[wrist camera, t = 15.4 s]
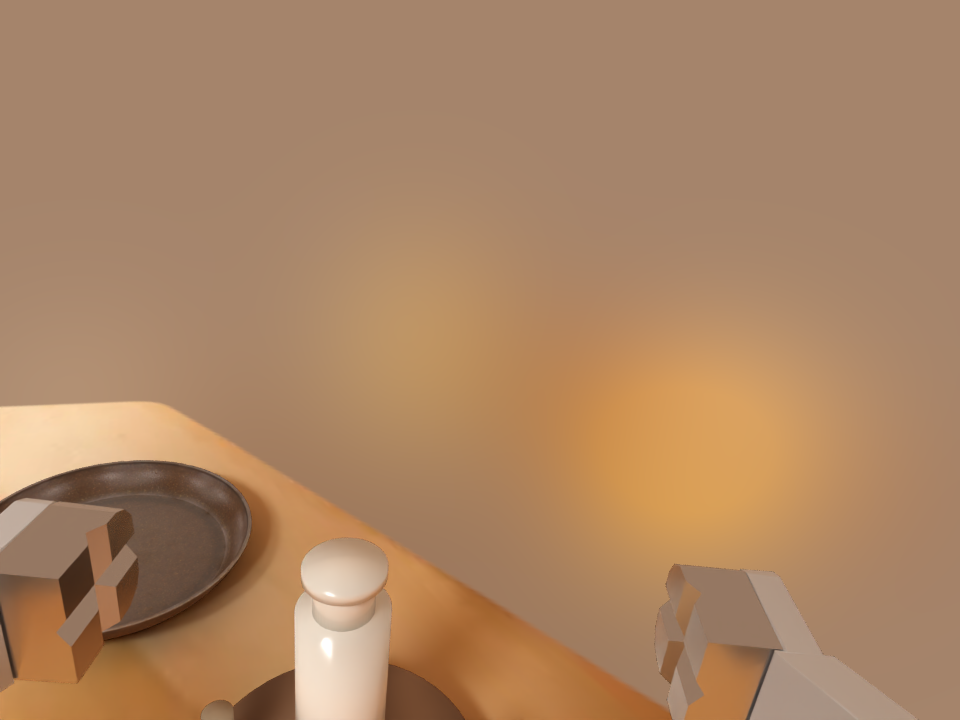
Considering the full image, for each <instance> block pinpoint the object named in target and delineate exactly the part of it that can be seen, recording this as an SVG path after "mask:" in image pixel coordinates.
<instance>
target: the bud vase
mask: <svg viewBox="0 0 960 720" xmlns="http://www.w3.org/2000/svg"><path fill="white" fill-rule="evenodd" d="M387 579H388V559H387V557H386V555H385V553H384V552H383V551H382V550H381V549H380V548H379V547H378V546H376V545H375V544H373V543H371V542H369V541H366V540H362V539H357V538H337V539H332V540H328V541H325V542H323V543H321V544H319V545H317V546H315V547H314V548H312V549H311V550H310V551H309V552H308V553H307V554H306V556H305V557H304V559H303V561H302V564H301V583H302V587H303V588H304V590H305V591H304V592H303V593H302V594H301V596H300V597H299V599H298V601H297V603H296V606H295V612H294V614H295V720H385V708H386V693H387V678H388V663H389V648H390V632H391V617H392V603H391V599H390V597H389V595H388V593H387V592H386V590H385V589H384V587H385V585H386V582H387Z"/></svg>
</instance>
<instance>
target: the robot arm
mask: <svg viewBox="0 0 960 720" xmlns="http://www.w3.org/2000/svg"><path fill="white" fill-rule="evenodd" d="M133 534H134V527H133V521H132V515H131V514H130V513H129V512H127V511H126V510H125V509H118V508H110V507H102V506H93V505H85V504H77V503H69V502H61V501H59V502H55V501H49V500H40V499H31V498H24V499H20V500H17V501H14V502H13V503H12V504H11V505H10V506H9V507H8V508H6V509H5V510H4V511H3V512H2V513H1V514H0V692H1V691H3V690H4V689H6V688H7V687H9V686H10V685H12V684H13V683H14V679H15V680H30V681H46V682H61V683H76V684H78V682H79V681H80V679H81V678H82V677H83V675H84V674H85V672H86V671H87V669H88V668H89V666H90V665H91V664H92V662H93V661H94V659H95V658H96V656H97V655H98V653H99V652H100V650H101V649H102V648H103V646H104V643H103V636H102V632H103V631H105V630H106V629H108V628H110V627H112V626H113V625H115V624H117V623H118V622H120V621H121V620H122V618H123V617H124V615H125V614H126V612H127V610H128V609H129V607H130V606H131V603H132V600H133V597H134V594H135V592H136V589H137V585H138V575H139V566H138V557H137V556H136V555H135V554H134V553H133V551H132V550H131V549H130V548H129V547H128V546H127V545H126V543H127V542H128V541H129V539H130V538H131V537H132V535H133ZM666 588H667V591H668V594H669V598H670V600H669V601H668V602H666V603H665V604H664V605H663V606H662V607H660V608H659V613H658V617H657V621H656V626H655V652H656V660H657V664H658V668H659V672H660V674H661V675H662V676H663V677H664V678H665V679H666V680H667V681H668V682H669V683H670V684H671V686H670V689H669V693H668V697H667V702H668V706H669V710H670V714H671V717H672V720H918V719H917V718H916V717H914V716H913V715H912V714H910V713H909V712H908V711H906V710H905V709H904V708H902V707H901V706H900V705H898V704H897V703H896V702H894V701H893V700H892V699H890V698H889V697H888V696H886V695H885V694H884V693H882V692H881V691H880V690H878V689H877V688H876V687H874V686H873V685H872V684H870V683H869V682H868V681H866V680H865V679H864V678H862V677H861V676H860V675H858V674H857V673H856V672H854V671H853V670H852V669H850V668H849V667H848V666H846V665H845V664H844V663H842V662H841V661H840V660H839V659H837V658H836V657H835V656H826V655H823V653H822V651H821V649H820V648H819V646H818V644H817V642H816V640H815V639H814V637H813V635H812V633H811V631H810V630H809V628H808V626H807V624H806V622H805V621H804V619H803V617H802V615H801V613H800V612H799V610H798V608H797V606H796V604H795V603H794V601H793V599H792V597H791V596H790V594H789V592H788V590H787V588H786V587H785V585H784V583H783V581H782V579H781V578H780V576H778V575H777V574H776V573H775V572H772V571H758V570H744V569H740V570H732V569H721V568H711V567H700V566H690V565H679V564H674V565H673V566H672V568H671V570H670V571H669V575H668V578H667V582H666Z"/></svg>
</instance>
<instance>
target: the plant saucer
mask: <svg viewBox="0 0 960 720" xmlns="http://www.w3.org/2000/svg"><path fill="white" fill-rule="evenodd" d="M24 498H31V499H40V500H49V501H55V502H59V501H61V502H69V503H77V504H85V505H93V506H102V507H110V508H118V509H125V510H126V511H127V512H129V513H130V514H131V515H132V521H133V527H134V534H133V535H132V537H131V538H130V539H129V541H128V542H127V543H126V545H127V546H128V547H129V548H130V549H131V550H132V551H133V553H134V554H135V555H136V556H137V557H138V566H139V575H138V585H137V589H136V592H135V594H134V597H133V600H132V603H131V606H130V607H129V609H128V610H127V612H126V614H125V615H124V617H123V618H122V620H121V621H120V622H118V623H117V624H115V625H113V626H112V627H110V628H108V629H106V630H105V631H103V632H102V636H103V640H106V639H111V638H115V637H120V636H124V635H127V634H131V633H134V632H137V631H140V630H143V629H146V628H149V627H151V626H154V625H156V624H159V623H161V622H163V621H165V620H167V619H169V618H171V617H173V616H175V615H176V614H178V613H180V612H182V611H184V610H185V609H187V608H188V607H190V606H191V605H193V604H194V603H196V602H197V601H198V600H200V599H201V598H202V597H204V596H205V595H206V594H207V593H209V592H210V591H211V590H212V589H213V588H214V587H215V586H216V585H217V584H218V583H219V582H220V581H221V580H222V579H223V578H224V577H225V576H226V575H227V574H228V573H229V571H230V570H231V569H232V568H233V566H234V565H235V564H236V562H237V561H238V559H239V558H240V556H241V554H242V553H243V551H244V549H245V547H246V545H247V543H248V540H249V537H250V533H251V527H252V518H251V512H250V508H249V506H248V503H247V502H246V500H245V498H244V496H243V495H242V494H241V493H240V491H239V490H238V489H237V488H236V487H235V486H234V485H233V484H231V483H230V482H228V481H227V480H225V479H224V478H222V477H220V476H219V475H217V474H214V473H212V472H210V471H207V470H205V469H202V468H198V467H195V466H191V465H186V464H182V463H175V462H167V461H152V460H134V461H120V462H112V463H105V464H98V465H93V466H88V467H84V468H79V469H75V470H72V471H68V472H64V473H61V474H58V475H55V476H52V477H49V478H46V479H44V480H41V481H39V482H37V483H34V484H31V485H29V486H27V487H25V488H23V489H21V490H19V491H17V492H15V493H13V494H12V495H10V496H8V497H6V498H4V499H3V500H1V501H0V514H1V513H2V512H3V511H4V510H5V509H6V508H8V507H9V506H10V505H11V504H12V503H13V502H14V501H17V500H20V499H24Z"/></svg>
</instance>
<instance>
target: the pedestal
mask: <svg viewBox="0 0 960 720" xmlns="http://www.w3.org/2000/svg"><path fill="white" fill-rule="evenodd" d="M201 720H295V669H294V670H291V671H289V672H286V673H284V674H282V675H279V676H277V677H275V678H273V679H271V680H269V681H268V682H266V683H264V684H263V685H261V686H260V687H258V688H256V689H255V690H253V691H252V692H251V693H249V694H248V695H247V696H245V697H244V698H243V699H242V700H240V701H239V702H238V703H237V704H236V705H235V706H234V707H233V706H232V705H231V703H229V702H228V701H224V700H218V701H214V702H212V703H210V704H208V705H207V706H206V707H205V708H204V709H203V711H202V713H201ZM385 720H465V719H464V718H463V716H462V715H461V713H460V711H459V710H458V709H457V708H456V707H455V705H454V704H453V703H452V702H451V701H450V700H449V698H448V697H446V696H445V695H444V694H443V693H442V692H441V691H440V690H439V689H437V688H436V687H435V686H433V685H432V684H431V683H429V682H428V681H426V680H425V679H423V678H421V677H419V676H417V675H416V674H414V673H412V672H410V671H407V670H405V669H402V668H399V667H397V666H393V665H390V664H388V678H387V693H386V708H385Z"/></svg>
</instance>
